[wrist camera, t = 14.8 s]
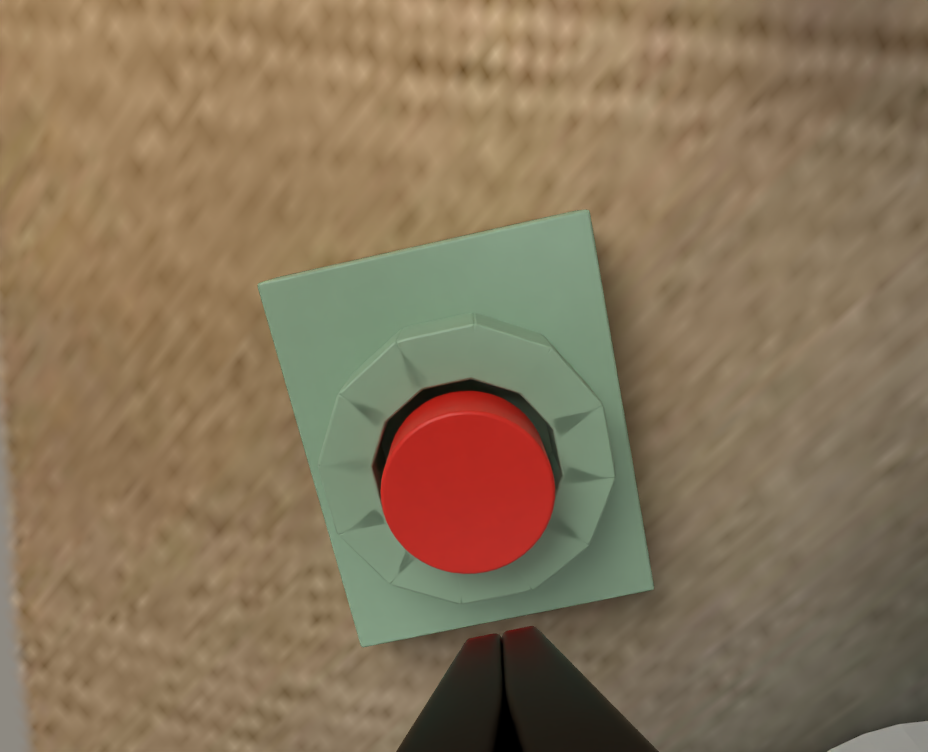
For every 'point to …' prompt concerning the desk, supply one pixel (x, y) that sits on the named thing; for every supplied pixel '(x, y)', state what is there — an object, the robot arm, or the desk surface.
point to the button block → (464, 369)
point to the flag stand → (890, 740)
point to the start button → (467, 483)
